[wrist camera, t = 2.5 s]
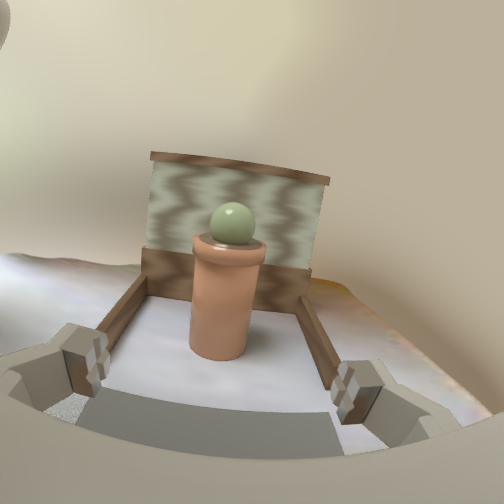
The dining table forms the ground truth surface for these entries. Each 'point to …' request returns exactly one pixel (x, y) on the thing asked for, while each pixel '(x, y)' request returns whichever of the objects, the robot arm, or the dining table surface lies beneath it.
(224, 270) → the seedling pot
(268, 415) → the potting mat
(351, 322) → the dining table surface
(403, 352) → the dining table surface
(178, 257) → the brown wooden frame
